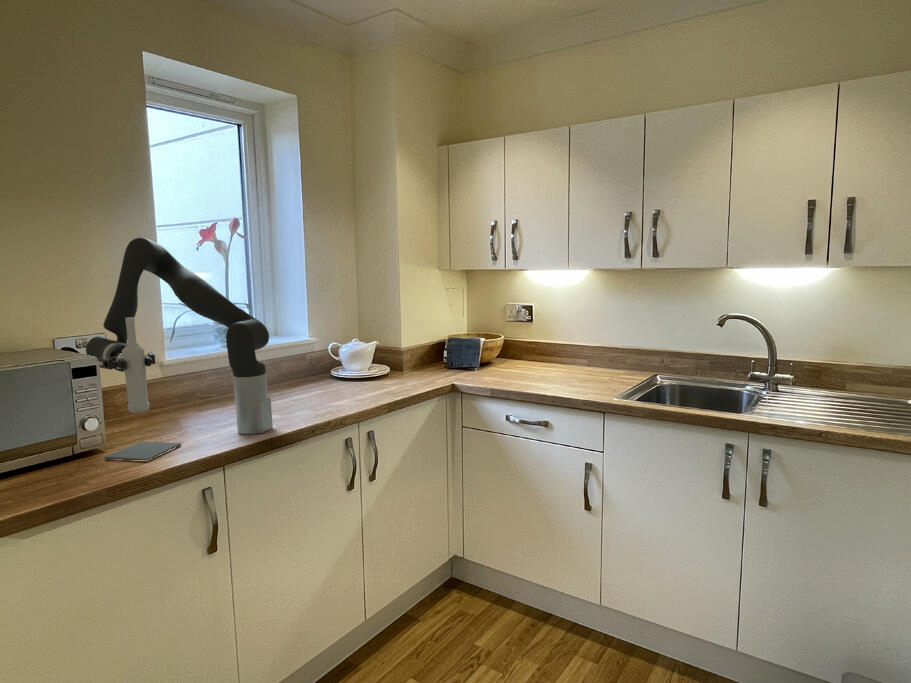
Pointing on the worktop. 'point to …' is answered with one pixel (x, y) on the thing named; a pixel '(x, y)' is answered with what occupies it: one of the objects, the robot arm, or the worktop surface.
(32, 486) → the worktop surface
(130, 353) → the bottle
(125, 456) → the charcoal mat
